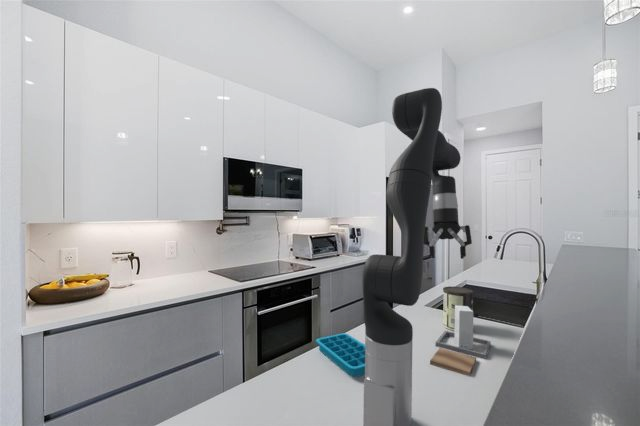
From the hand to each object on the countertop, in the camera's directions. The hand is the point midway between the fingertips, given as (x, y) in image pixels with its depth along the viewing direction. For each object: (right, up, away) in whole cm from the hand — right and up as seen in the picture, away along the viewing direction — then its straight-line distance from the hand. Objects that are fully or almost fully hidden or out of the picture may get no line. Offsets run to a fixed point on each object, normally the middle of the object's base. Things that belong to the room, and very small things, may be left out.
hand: (447, 258), depth 95 cm
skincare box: (+5, -28, 0) cm, 29 cm away
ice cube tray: (-33, -28, -9) cm, 44 cm away
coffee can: (+10, -28, +16) cm, 34 cm away
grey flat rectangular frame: (+5, -28, 0) cm, 28 cm away
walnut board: (-3, -28, -11) cm, 30 cm away
